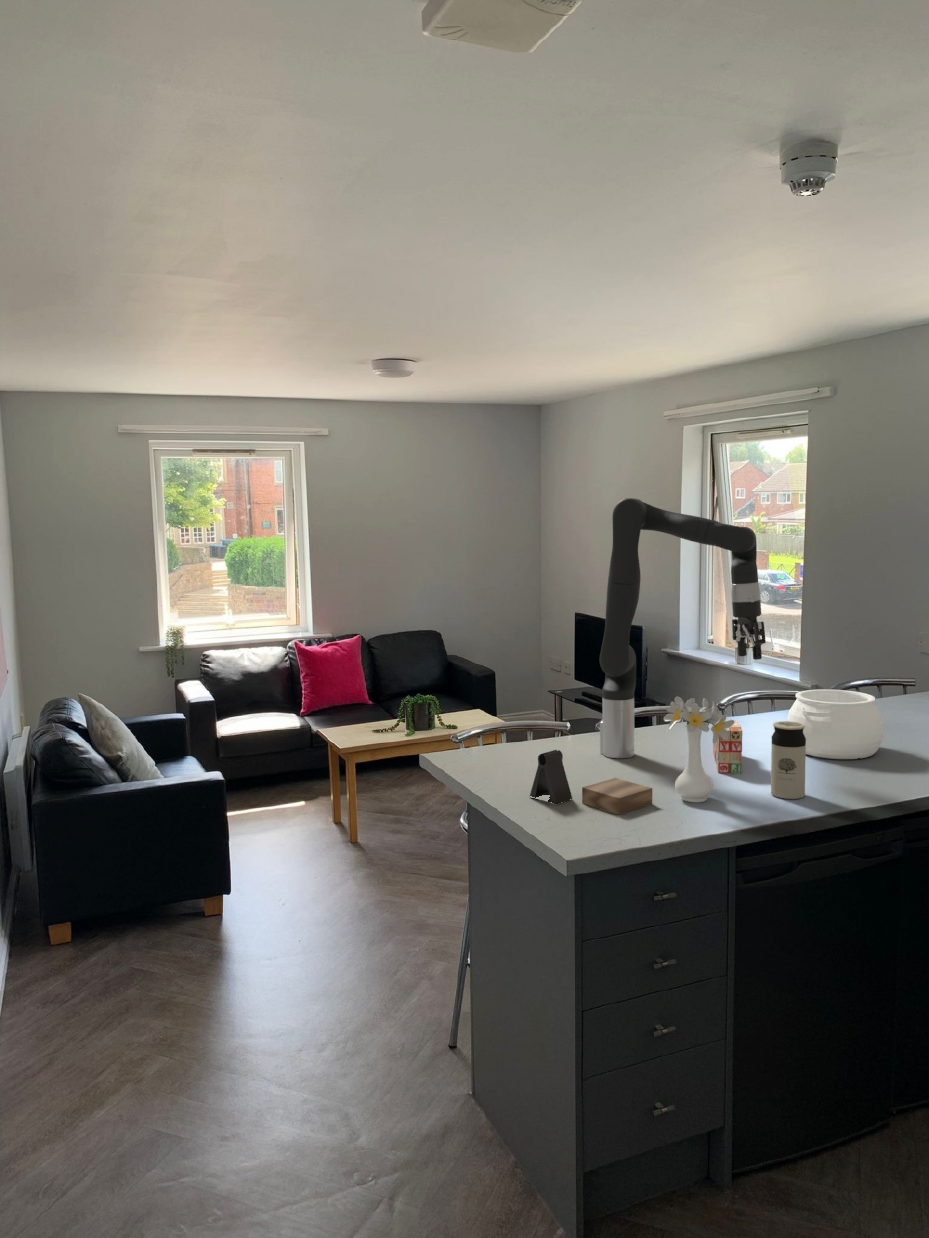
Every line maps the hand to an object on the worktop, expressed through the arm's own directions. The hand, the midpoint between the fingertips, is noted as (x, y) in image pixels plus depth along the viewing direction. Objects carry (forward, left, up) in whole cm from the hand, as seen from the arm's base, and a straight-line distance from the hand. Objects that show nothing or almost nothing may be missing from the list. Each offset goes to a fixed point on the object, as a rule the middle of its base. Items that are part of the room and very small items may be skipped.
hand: (749, 657), depth 251 cm
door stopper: (-15, -62, -31) cm, 71 cm away
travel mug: (+23, -17, -31) cm, 42 cm away
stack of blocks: (-5, -3, -31) cm, 31 cm away
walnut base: (-1, -53, -30) cm, 61 cm away
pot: (+8, +31, -31) cm, 44 cm away
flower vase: (+10, -36, -31) cm, 48 cm away
